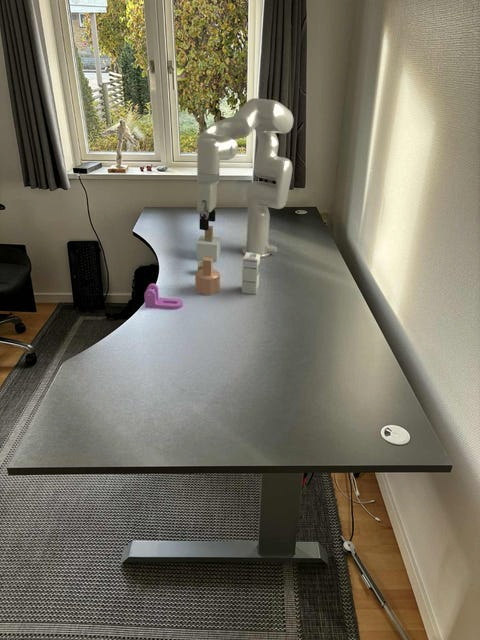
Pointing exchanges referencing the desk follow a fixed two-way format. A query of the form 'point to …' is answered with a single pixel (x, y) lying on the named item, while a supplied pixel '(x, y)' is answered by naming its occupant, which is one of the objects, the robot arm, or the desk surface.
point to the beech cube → (200, 265)
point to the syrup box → (250, 273)
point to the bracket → (160, 299)
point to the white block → (208, 246)
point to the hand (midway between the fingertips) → (207, 225)
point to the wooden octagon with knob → (207, 278)
